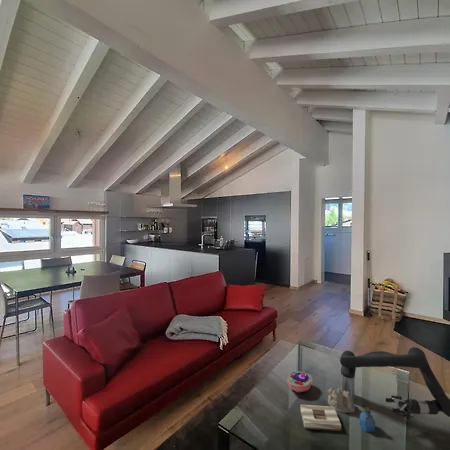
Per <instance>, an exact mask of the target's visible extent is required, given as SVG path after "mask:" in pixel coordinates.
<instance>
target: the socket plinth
mask: <svg viewBox="0 0 450 450" xmlns="http://www.w3.org/2000/svg"><path fill="white" fill-rule="evenodd" d="M299 405H300V406H299V411H300V415H301V419H302V425H303V429H306V430H316V431H317V430H319V431H332V432H342V424H341V422H340V419H339V416H338V413H337V411H335V408H334V407H331V406H330V405H328V406H327V405H326V406H325V405H315V404H314V405H313V404H312V405H311V404H299Z"/></svg>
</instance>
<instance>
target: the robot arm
mask: <svg viewBox="0 0 450 450" xmlns="http://www.w3.org/2000/svg"><path fill="white" fill-rule="evenodd" d="M339 358H340V359H339V363H340V365H341V368H340V390H341V391H342V392H343V391H344V390H345V392H347V391H348V392H349V395H350V397H351V399H352V400H353V401H354V402H355V396H356V393H355V390H356V389H355V388H356V372H357V371H356V370H357V368H365V367H366V368H378V367H379V368H388V367H389V368H392V367H394V368H395V367H396V368H397V367H399V368H400V367H401V368H403V367H404V368H413V369H419V371H420V373H421V375H422V378H423V380H424V383H425V385H426V387H427V389H428V391H429V392H430V394H431V396H432V397H433V399H432V400H427V399H426V400H425V399H419V398H415V399H414V398H407V399H405V400H404V399H403V396H400V395H391V397H386V398H385V400H384V401H385V402H386V403H393V404H395V405H396V406H398V407H399V408H397V407H396V408H394V407H393V408H392V409H391V410H392V413H395V414H401V415H402V417H407V418H409V417H411V418H413V417H414V415H438V414H439V412H441V413H443V414H444V415H445V416H447V417H448V418H450V398H449V397H448V395H447V394H446V392H445V391H444V389H443V386H442V385H441V383H440V382H439V379H437V377H436V375H435V374H434V372H433V370H432V368H431V366H430V364H429V362H428V359H427V356H426V353H425V352H424V350H422V349H420V348H419V347H411V348H409V349H408V352H407V354H395V353H391V352H387V351H382V350H381V351H380V350H379V351H377V350H376V351H370V352H367V353H364V354H361V355H355V354H354V352H352V350H345V351H343V352H342V354H341V355H340V357H339Z"/></svg>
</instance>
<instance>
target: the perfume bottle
mask: <svg viewBox="0 0 450 450" xmlns="http://www.w3.org/2000/svg"><path fill="white" fill-rule="evenodd" d="M359 425H360V426H361V429H362V430H363V431H364V432H365V433H372V432H376V420H375V419H374V417H373V416H372V413H371V408H369V407H367V406H365V407H364V410H363V411H362V412H361V413H360V414H359Z"/></svg>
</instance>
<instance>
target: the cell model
mask: <svg viewBox="0 0 450 450" xmlns="http://www.w3.org/2000/svg"><path fill="white" fill-rule="evenodd" d="M286 380H287V381H286V383H287V385H288V386H289V388H291V390H293V391H294V392H296V393H303V392H308V391H309V390H310V388H311V386H312V383H313V377H312V375H310V374H309V373H307V372H304V371H300V370H296V371H292V372H290V373H289V374H288V376H287V377H286Z"/></svg>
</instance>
